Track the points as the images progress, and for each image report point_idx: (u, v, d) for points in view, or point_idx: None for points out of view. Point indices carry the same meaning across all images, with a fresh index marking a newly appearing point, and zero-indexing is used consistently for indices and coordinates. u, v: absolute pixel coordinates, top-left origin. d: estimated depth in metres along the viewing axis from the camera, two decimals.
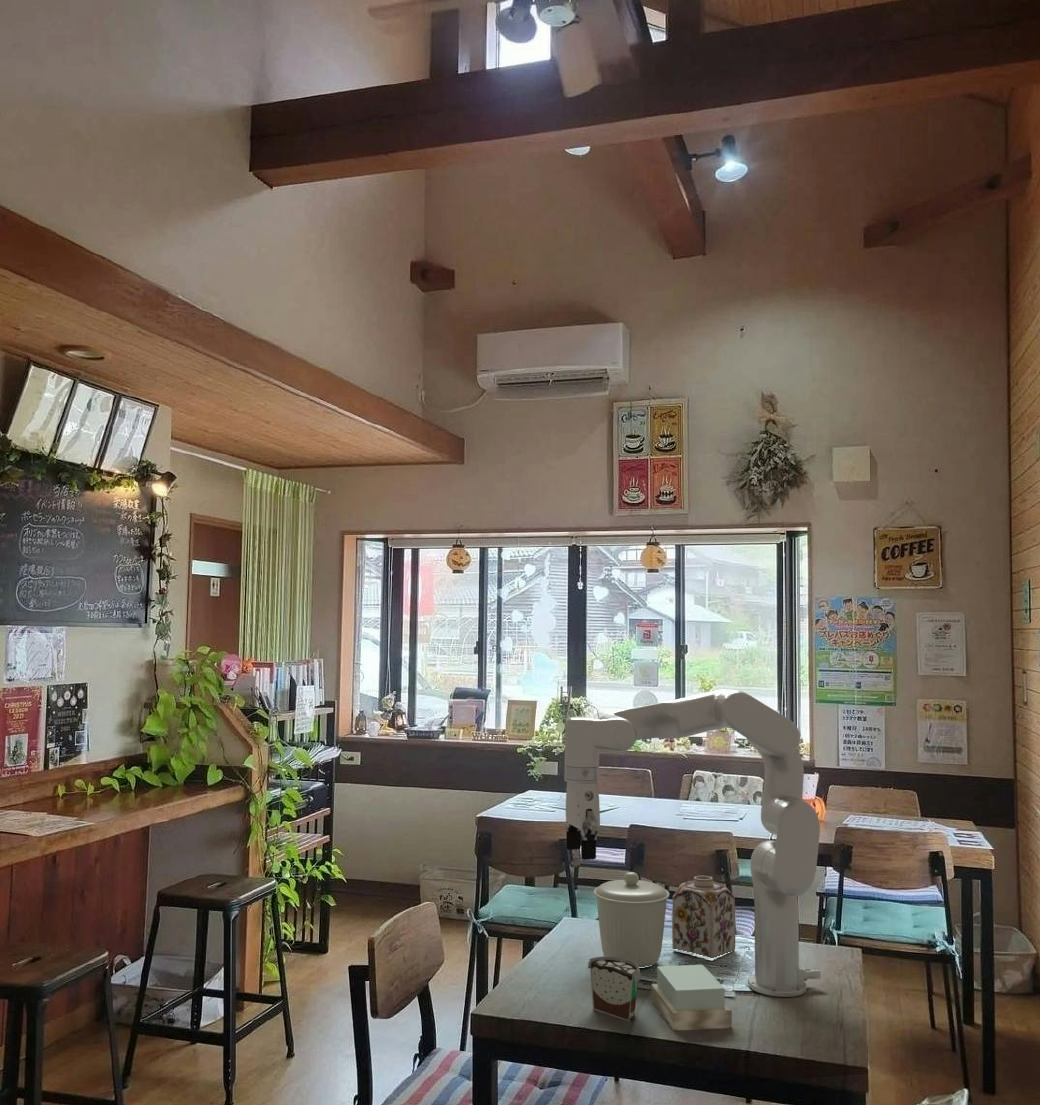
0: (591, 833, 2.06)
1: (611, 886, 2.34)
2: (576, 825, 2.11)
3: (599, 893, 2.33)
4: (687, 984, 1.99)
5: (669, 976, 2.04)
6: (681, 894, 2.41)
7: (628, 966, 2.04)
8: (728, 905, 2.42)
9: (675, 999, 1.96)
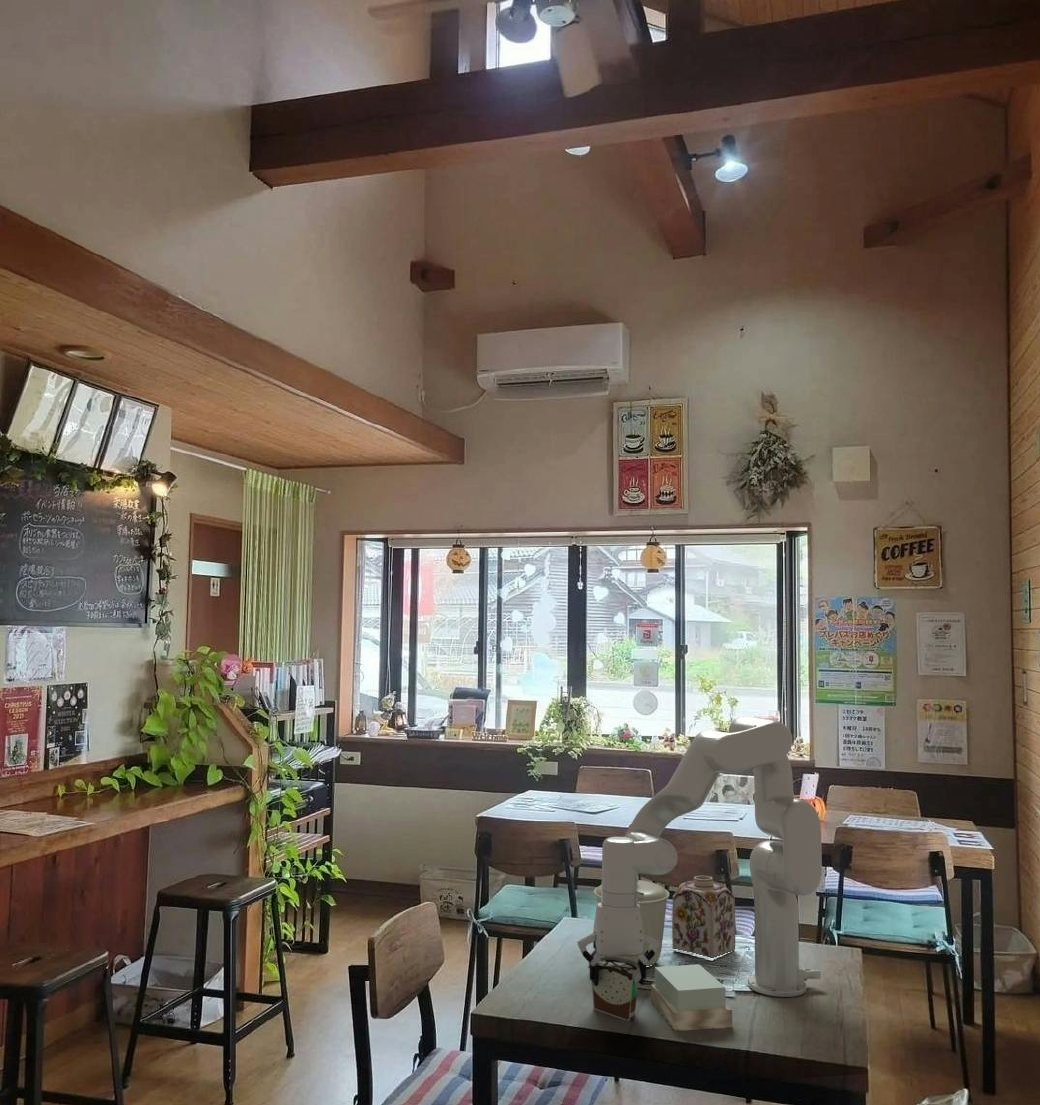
0: None
1: None
2: (633, 952, 2.03)
3: (599, 893, 2.33)
4: (688, 984, 1.99)
5: (668, 976, 2.04)
6: (681, 894, 2.41)
7: (628, 966, 2.04)
8: (728, 905, 2.42)
9: (677, 999, 1.96)
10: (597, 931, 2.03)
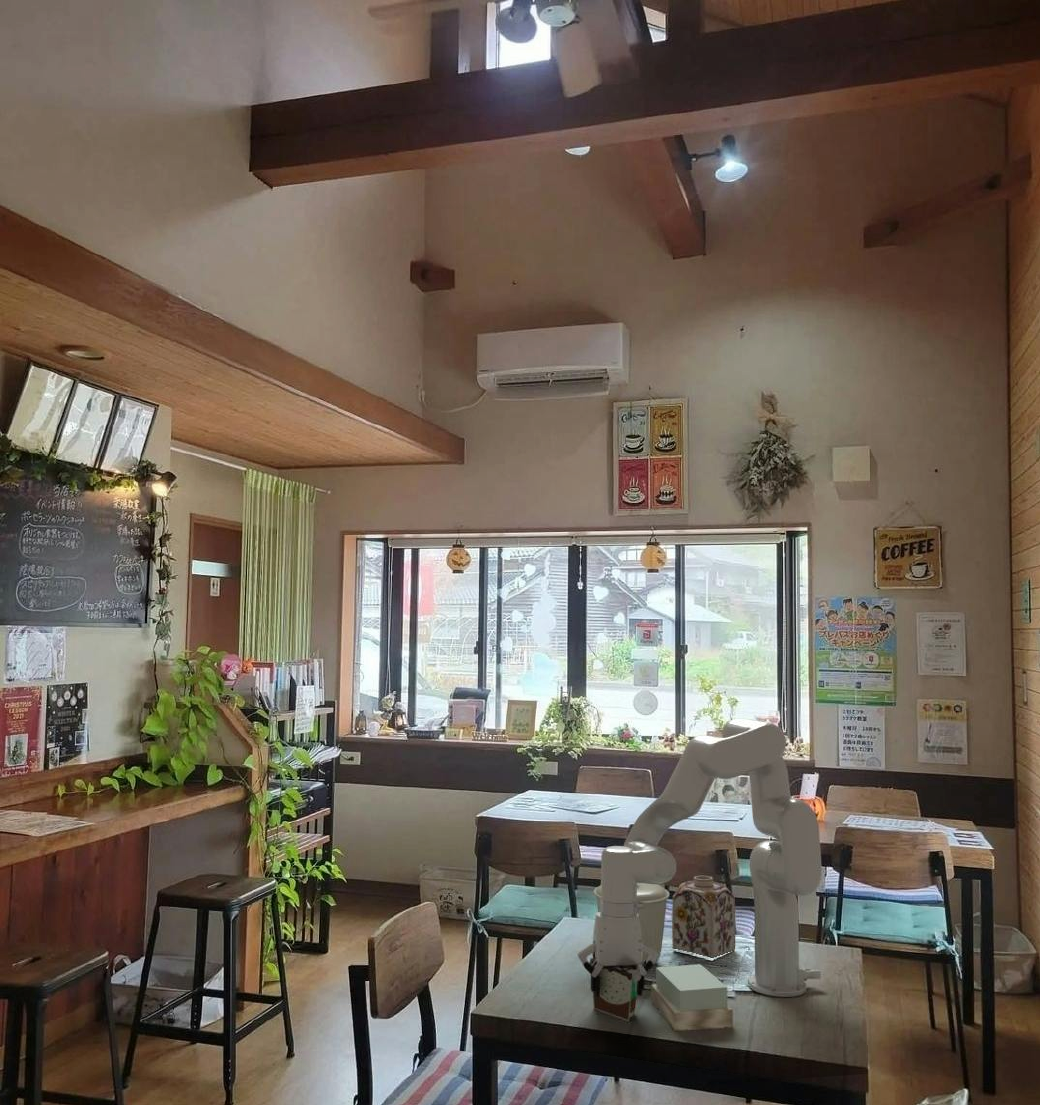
0: None
1: None
2: (633, 962, 2.03)
3: (599, 893, 2.33)
4: (689, 984, 1.99)
5: (670, 976, 2.03)
6: (681, 894, 2.41)
7: (628, 966, 2.04)
8: (728, 905, 2.42)
9: (679, 999, 1.96)
10: (596, 941, 2.03)
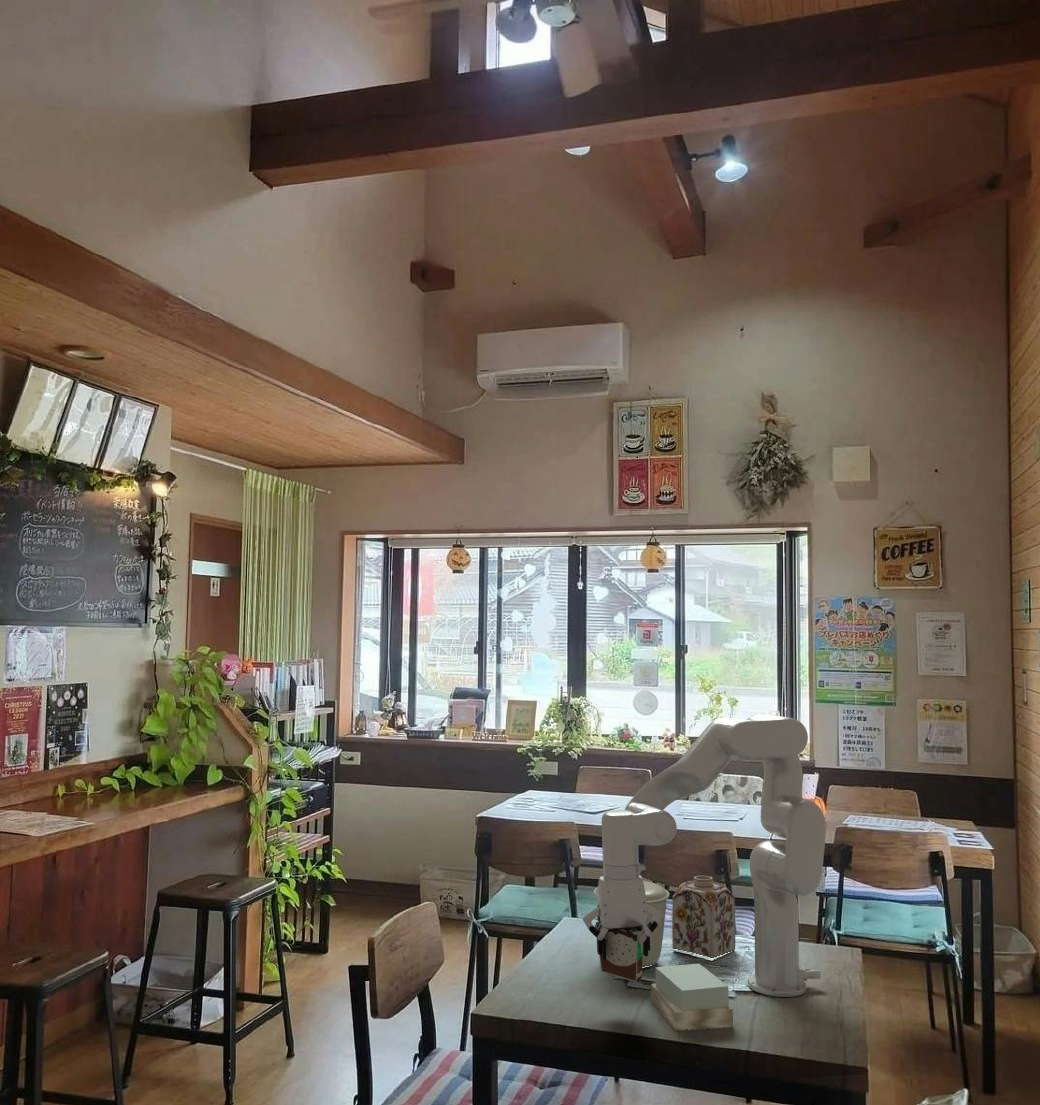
0: None
1: None
2: (638, 923, 2.04)
3: None
4: (690, 983, 1.99)
5: (670, 976, 2.03)
6: (681, 894, 2.41)
7: (634, 928, 2.05)
8: (728, 905, 2.42)
9: (681, 999, 1.96)
10: (600, 904, 2.04)
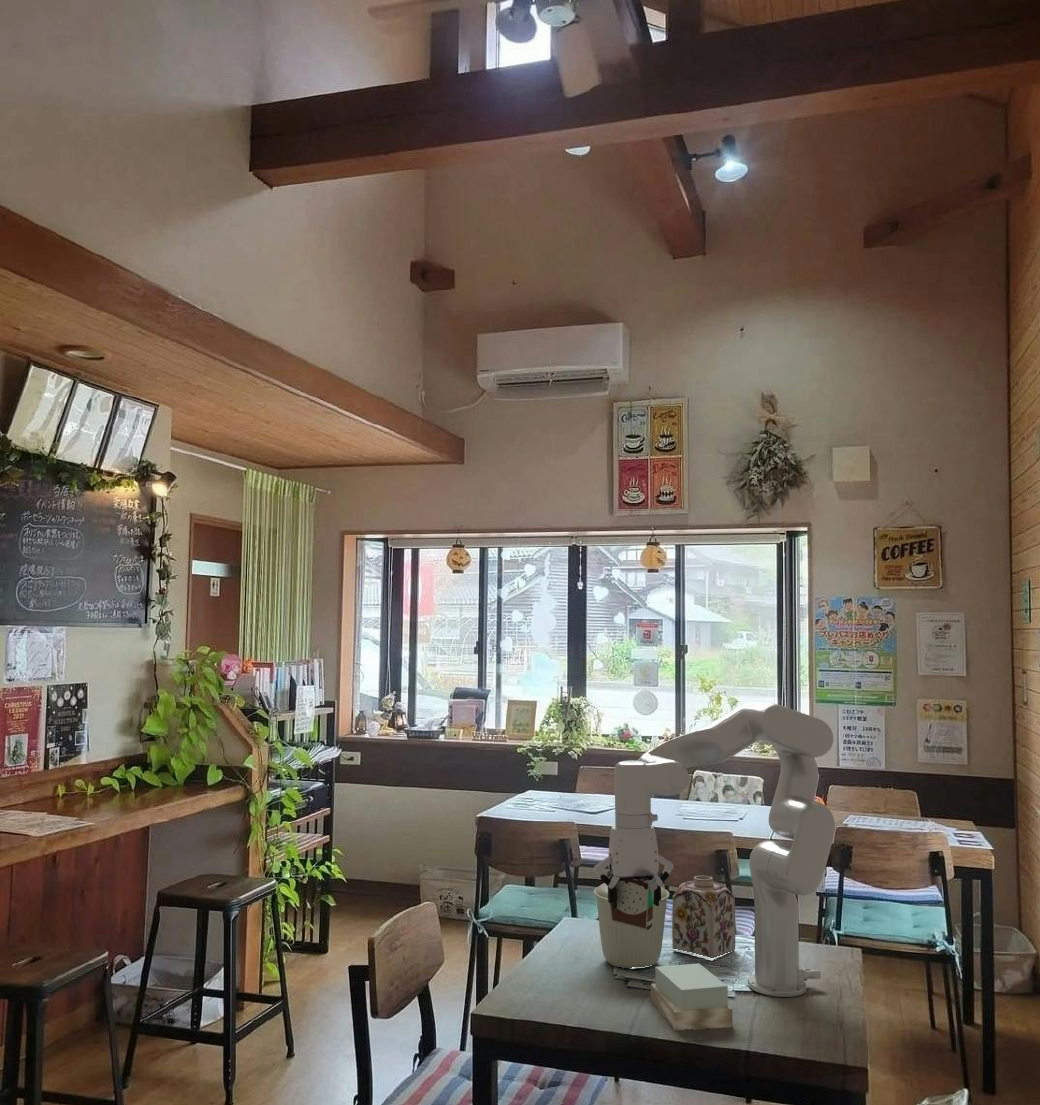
0: None
1: None
2: (649, 873, 2.04)
3: (599, 893, 2.33)
4: (690, 983, 1.99)
5: (670, 975, 2.04)
6: (681, 894, 2.41)
7: (645, 877, 2.06)
8: (728, 905, 2.42)
9: (680, 999, 1.96)
10: (612, 853, 2.04)
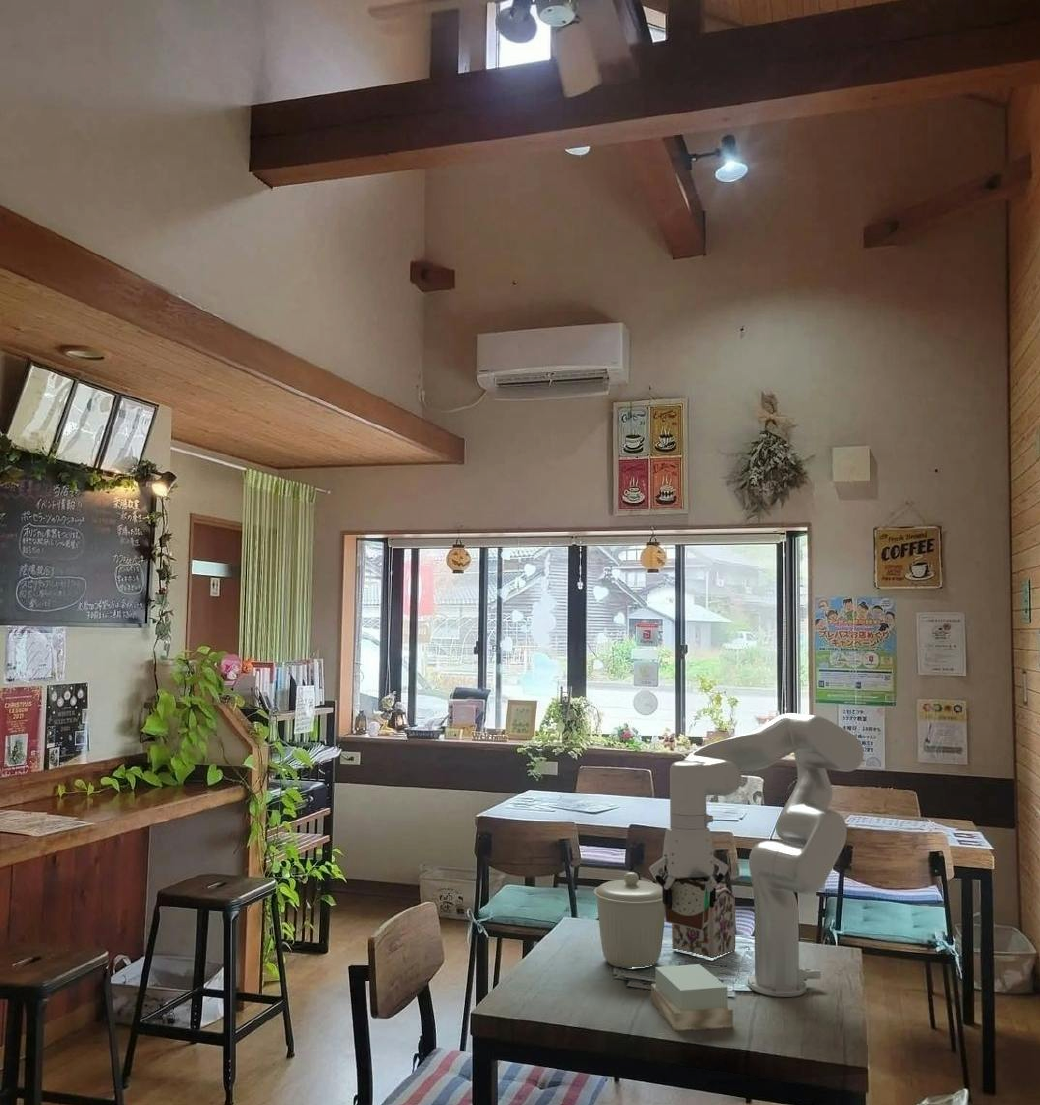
0: None
1: (611, 886, 2.34)
2: (705, 874, 2.03)
3: (599, 893, 2.33)
4: (689, 984, 1.99)
5: (670, 976, 2.04)
6: None
7: (700, 879, 2.05)
8: (728, 905, 2.42)
9: (679, 999, 1.96)
10: (668, 854, 2.03)
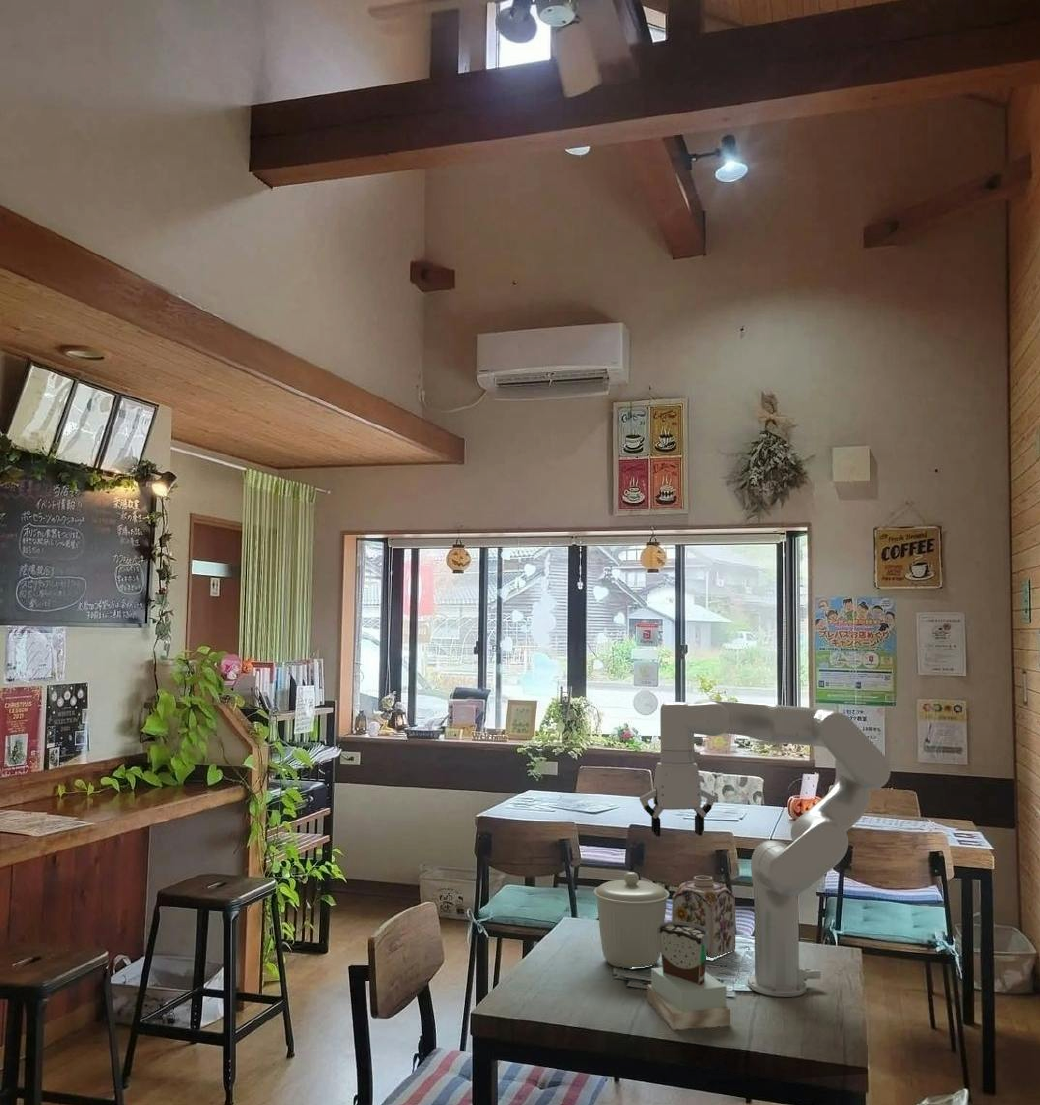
0: None
1: (611, 886, 2.34)
2: (692, 805, 2.18)
3: (599, 893, 2.33)
4: (689, 984, 1.99)
5: (667, 977, 2.03)
6: (681, 894, 2.41)
7: (697, 931, 2.05)
8: (728, 905, 2.42)
9: (680, 1000, 1.96)
10: (658, 786, 2.18)
